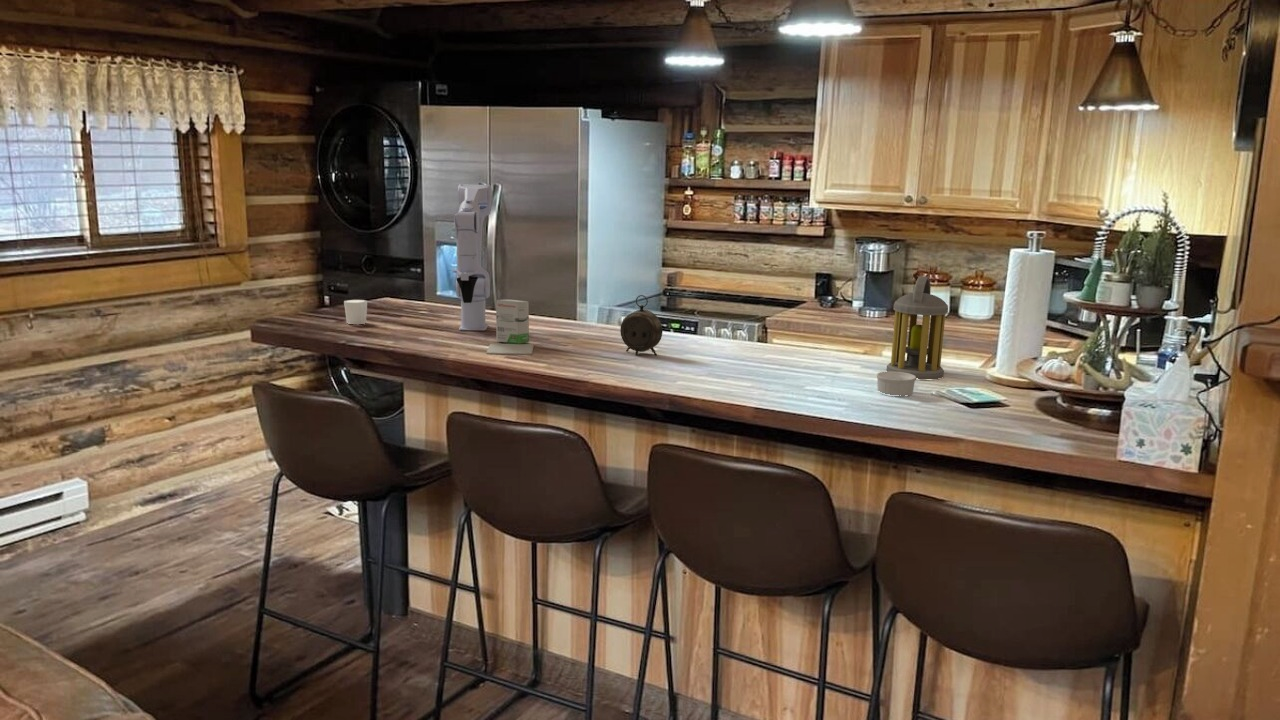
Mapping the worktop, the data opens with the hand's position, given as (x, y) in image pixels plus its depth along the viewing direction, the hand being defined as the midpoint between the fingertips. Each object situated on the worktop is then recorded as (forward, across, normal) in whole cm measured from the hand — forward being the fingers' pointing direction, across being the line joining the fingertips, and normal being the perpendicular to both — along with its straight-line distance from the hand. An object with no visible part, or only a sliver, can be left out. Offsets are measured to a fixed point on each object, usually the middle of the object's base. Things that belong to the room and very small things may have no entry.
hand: (467, 302), depth 271 cm
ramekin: (+11, +59, +105) cm, 121 cm away
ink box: (+10, +6, +13) cm, 18 cm away
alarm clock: (+11, +19, +48) cm, 53 cm away
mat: (+10, +15, +13) cm, 22 cm away
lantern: (+11, +39, +117) cm, 124 cm away
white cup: (+11, -22, -36) cm, 43 cm away
